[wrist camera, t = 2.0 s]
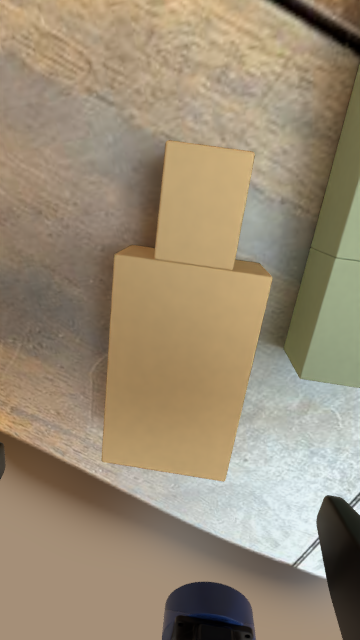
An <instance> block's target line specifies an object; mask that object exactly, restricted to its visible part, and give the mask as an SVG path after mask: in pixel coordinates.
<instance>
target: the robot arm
mask: <svg viewBox="0 0 360 640" xmlns="http://www.w3.org/2000/svg"><path fill="white" fill-rule="evenodd" d="M4 470H5V453H4V445H3V443H1V442H0V479H1V477H2V475H3V473H4ZM317 530H318V535H319V540H320V545H321V551H322V556H323V561H324V567H325V572H326V577H327V582H328V587H329V591H330V595H331V599H332V603H333V606H334V610H335V613H336V616H337V620H338V624H339V627H340V631H341V634H342V638H343V640H360V515H359V514H358V513H357V512H356V511H355V510H354V509H353V508H352V507H351V506H350V505H349V504H348V503H347V502H346V501H345V500H344V499H342V498H340V497H336V496H330V495H327V496H325V497H324V499H323V502H322V505H321V507H320V510H319V513H318V515H317ZM253 637H254V636H253V629H252V628H251V627H247V626H242V625H236V624H230V623H224V622H218V621H213V620H207V619H201V618H195V617H190V616H184V615H178V616H176V618H175V622H174V627H173V632H172V637H171V640H253Z"/></svg>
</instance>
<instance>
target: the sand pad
mask: <svg viewBox="0 0 360 640" xmlns="http://www.w3.org/2000/svg"><path fill="white" fill-rule="evenodd" d="M254 157H255V153H254V152H251V151H244V150H237V149H229V148H222V147H215V146H207V145H200V144H193V143H185V142H178V141H171V140H168V141H167V142H166V146H165V156H164V165H163V175H162V184H161V194H160V204H159V213H158V223H157V233H156V242H155V248H150V247H143V246H137V245H131V246H129V247H127V248H125V249H123V250H122V251H120V252H118V253H116V254H115V255H114V267H113V283H112V299H111V316H110V332H109V348H108V364H107V380H106V397H105V413H104V429H103V445H102V462H107V463H113V464H119V465H125V466H132V467H138V468H144V469H150V470H156V471H162V472H169V473H175V474H181V475H187V476H193V477H199V478H206V479H212V480H218V481H225V479H226V475H227V471H228V466H229V462H230V458H231V454H232V449H233V445H234V441H235V436H236V432H237V428H238V424H239V419H240V415H241V411H242V407H243V402H244V398H245V394H246V390H247V385H248V381H249V377H250V373H251V368H252V364H253V360H254V356H255V351H256V347H257V343H258V338H259V334H260V330H261V326H262V321H263V317H264V313H265V309H266V304H267V300H268V296H269V292H270V287H271V283H272V279H273V278H272V276H271V275H270V274H269V273H268V272H267V271H266V270H265V269H264V268H263V266H262V265H261V264H260V263H254V262H247V261H240V260H235V257H236V252H237V247H238V241H239V236H240V231H241V226H242V220H243V215H244V210H245V205H246V199H247V194H248V189H249V184H250V178H251V173H252V168H253V163H254Z"/></svg>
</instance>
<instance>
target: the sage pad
mask: <svg viewBox="0 0 360 640" xmlns="http://www.w3.org/2000/svg"><path fill="white" fill-rule="evenodd" d="M311 247H312V248H310V251H309V255H308V259H307V262H306V266H305V270H304V274H303V277H302V281H301V285H300V289H299V292H298V296H297V300H296V304H295V307H294V311H293V315H292V319H291V322H290V326H289V330H288V334H287V337H286V341H285V345H284V350H285V352H286V354H287V356H288V358H289V359H290V361H291V363H292V365H293V367H294V369H295V371H296V372H297V374H298V376H299V378H300V379H305V380H311V381H318V382H324V383H331V384H337V385H344V386H350V387H357V388H360V64H359V68H358V72H357V75H356V79H355V83H354V87H353V90H352V94H351V98H350V102H349V105H348V109H347V113H346V117H345V120H344V124H343V128H342V132H341V135H340V139H339V143H338V147H337V150H336V154H335V158H334V162H333V165H332V169H331V173H330V177H329V180H328V184H327V188H326V192H325V195H324V199H323V203H322V207H321V210H320V214H319V218H318V222H317V225H316V229H315V233H314V237H313V240H312V244H311Z"/></svg>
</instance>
